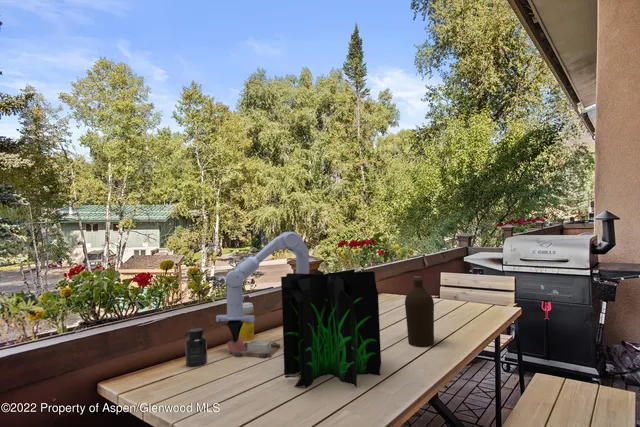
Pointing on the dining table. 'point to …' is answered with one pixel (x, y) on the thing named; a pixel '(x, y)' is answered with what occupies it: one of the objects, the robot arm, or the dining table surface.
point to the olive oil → (419, 315)
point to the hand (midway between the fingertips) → (235, 341)
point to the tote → (259, 346)
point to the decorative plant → (330, 325)
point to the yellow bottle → (247, 324)
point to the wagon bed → (245, 353)
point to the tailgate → (236, 345)
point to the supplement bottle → (196, 348)
